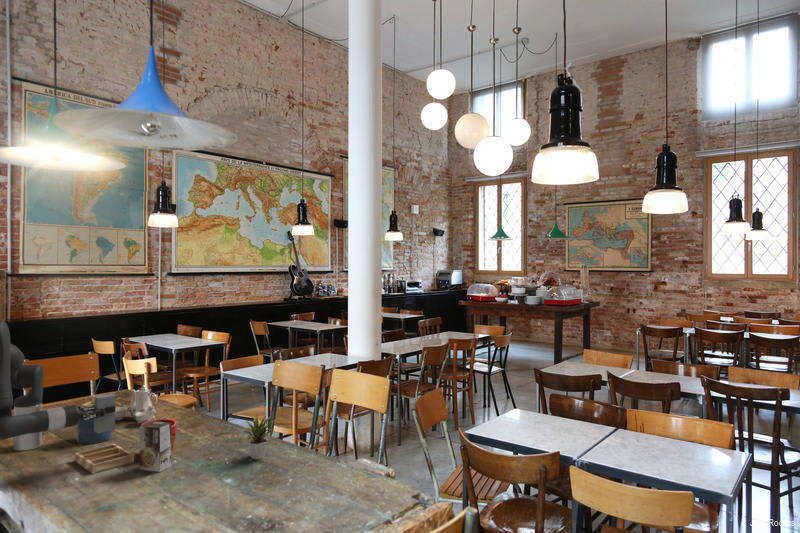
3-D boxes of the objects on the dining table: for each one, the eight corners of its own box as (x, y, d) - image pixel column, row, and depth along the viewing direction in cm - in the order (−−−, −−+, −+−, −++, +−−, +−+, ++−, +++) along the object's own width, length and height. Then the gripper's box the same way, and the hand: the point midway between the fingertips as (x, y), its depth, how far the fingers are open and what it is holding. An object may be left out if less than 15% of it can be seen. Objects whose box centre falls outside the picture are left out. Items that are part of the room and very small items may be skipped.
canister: (118, 435, 223) (118, 394, 223) (98, 445, 210) (98, 402, 210) (90, 433, 224) (91, 393, 224) (68, 444, 212) (69, 401, 212)
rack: (74, 461, 193) (74, 453, 193) (114, 451, 204) (114, 443, 204) (93, 473, 182) (93, 465, 182) (134, 462, 192) (134, 454, 192)
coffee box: (172, 465, 189) (172, 422, 189) (159, 472, 183) (160, 427, 183) (151, 463, 192) (152, 420, 192) (138, 469, 186) (139, 425, 186)
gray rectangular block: (93, 431, 191) (94, 396, 191) (111, 427, 196) (111, 393, 196) (97, 433, 189) (97, 398, 189) (114, 429, 194) (115, 395, 194)
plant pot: (132, 456, 198) (132, 425, 198) (161, 446, 210) (162, 416, 210) (154, 462, 192) (154, 430, 192) (183, 451, 204) (184, 421, 204)
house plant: (265, 466, 189) (266, 422, 189) (231, 463, 192) (232, 420, 192) (282, 453, 203) (282, 411, 203) (250, 450, 206) (250, 409, 206)
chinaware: (101, 425, 242) (98, 390, 241) (129, 411, 258) (127, 379, 256) (148, 431, 233) (145, 396, 232) (174, 417, 249) (172, 384, 248)
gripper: (68, 410, 177) (120, 401, 190) (54, 403, 186) (105, 394, 199) (67, 432, 177) (120, 421, 190) (54, 424, 186) (105, 414, 199)
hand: (112, 407), depth 195 cm, fingers closed on gray rectangular block, 3 cm apart
